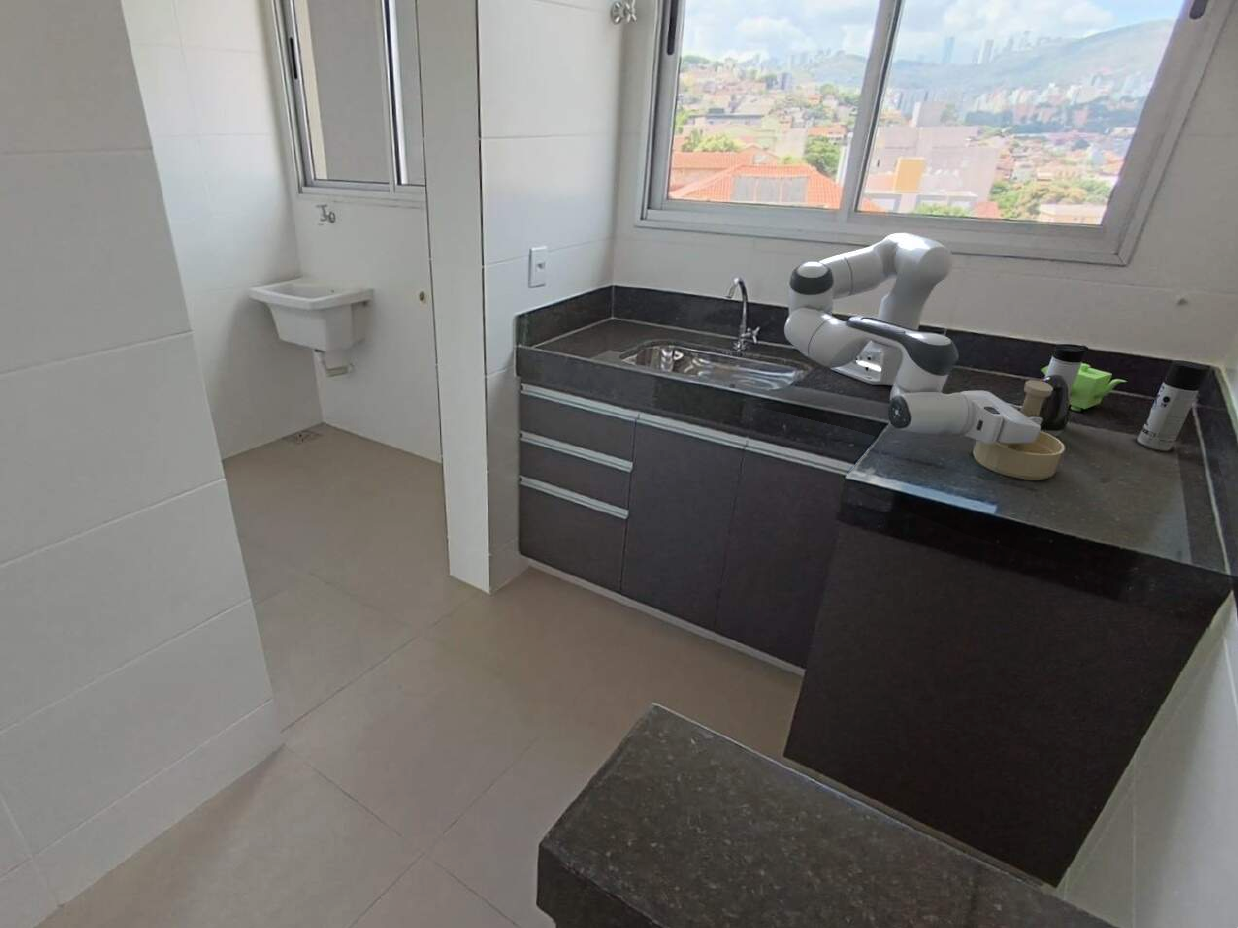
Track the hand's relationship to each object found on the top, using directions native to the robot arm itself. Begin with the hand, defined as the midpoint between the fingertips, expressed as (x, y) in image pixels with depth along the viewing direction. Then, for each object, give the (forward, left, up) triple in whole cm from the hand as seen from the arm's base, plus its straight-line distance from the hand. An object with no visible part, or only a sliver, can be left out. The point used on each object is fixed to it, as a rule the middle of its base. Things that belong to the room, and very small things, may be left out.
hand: (1032, 415), depth 142 cm
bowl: (-1, -1, -11) cm, 11 cm away
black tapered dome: (-2, +20, -11) cm, 23 cm away
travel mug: (-3, +31, -11) cm, 34 cm away
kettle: (-2, +51, -11) cm, 53 cm away
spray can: (+19, +37, -11) cm, 44 cm away
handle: (-1, -1, -8) cm, 9 cm away
